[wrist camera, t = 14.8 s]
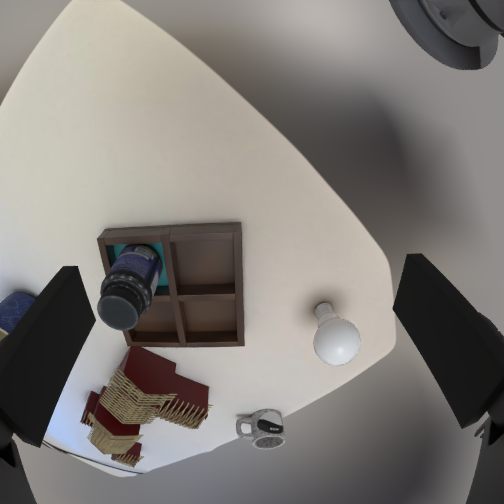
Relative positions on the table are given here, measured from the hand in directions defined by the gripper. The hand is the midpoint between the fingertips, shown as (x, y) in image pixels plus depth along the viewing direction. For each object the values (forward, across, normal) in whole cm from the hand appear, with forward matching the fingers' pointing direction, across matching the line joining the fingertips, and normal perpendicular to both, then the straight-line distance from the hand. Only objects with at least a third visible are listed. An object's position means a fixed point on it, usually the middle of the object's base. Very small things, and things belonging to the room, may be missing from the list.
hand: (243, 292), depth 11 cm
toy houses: (+25, -26, -50) cm, 61 cm away
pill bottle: (+25, -13, -12) cm, 31 cm away
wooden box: (+25, -9, -16) cm, 31 cm away
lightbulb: (+26, +12, -21) cm, 36 cm away
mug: (+26, +2, -51) cm, 57 cm away
